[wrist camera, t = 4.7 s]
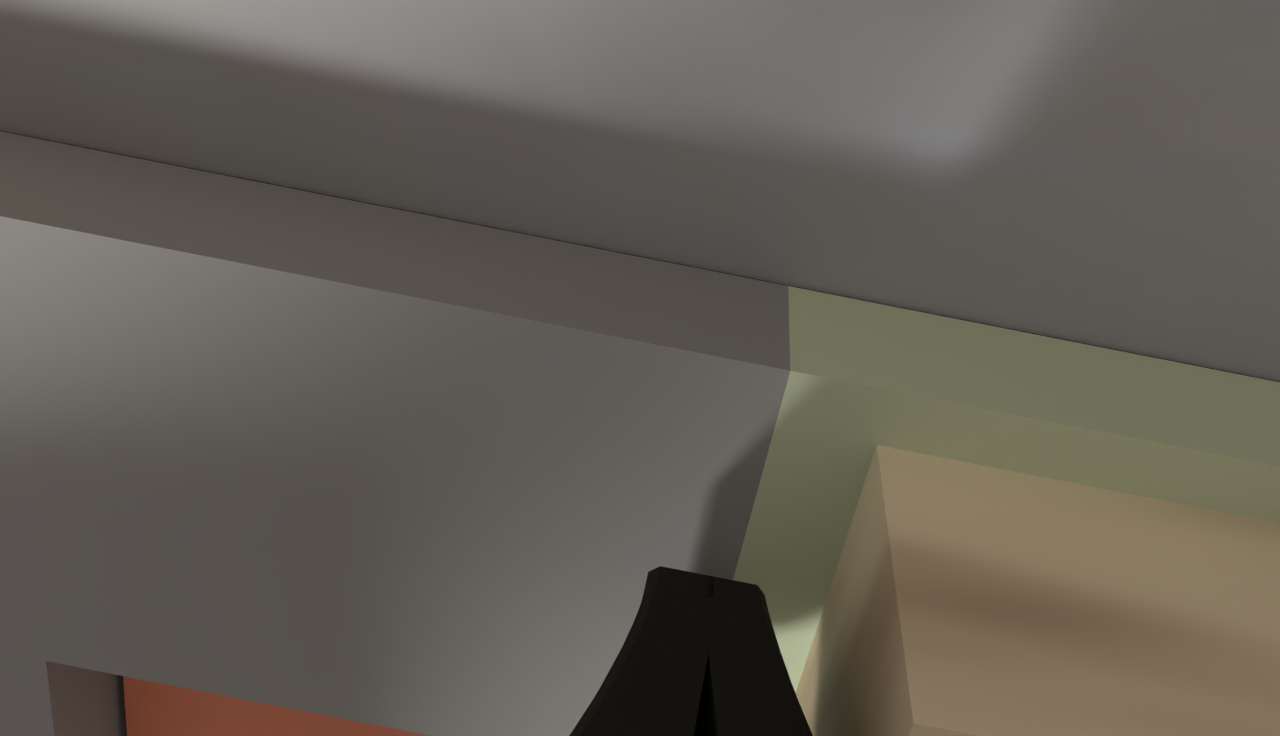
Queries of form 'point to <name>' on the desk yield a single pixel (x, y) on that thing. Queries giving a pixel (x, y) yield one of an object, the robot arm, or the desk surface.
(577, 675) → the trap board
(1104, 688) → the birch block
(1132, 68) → the desk surface
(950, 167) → the desk surface
